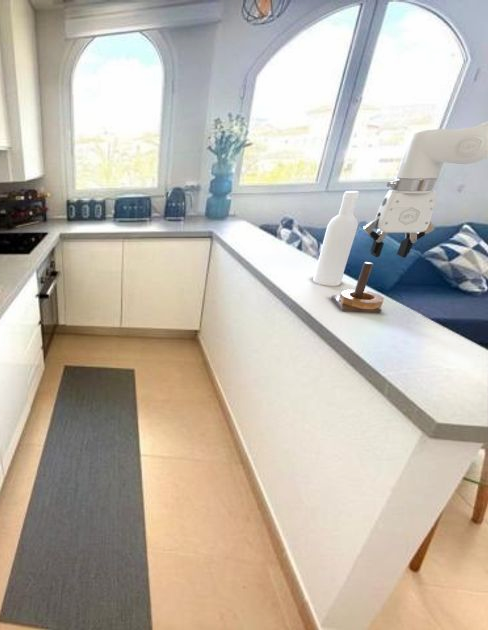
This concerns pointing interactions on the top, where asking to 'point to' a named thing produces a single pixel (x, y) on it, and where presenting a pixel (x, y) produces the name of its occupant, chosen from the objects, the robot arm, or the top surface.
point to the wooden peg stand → (358, 292)
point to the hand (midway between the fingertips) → (388, 255)
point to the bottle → (337, 243)
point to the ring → (369, 303)
